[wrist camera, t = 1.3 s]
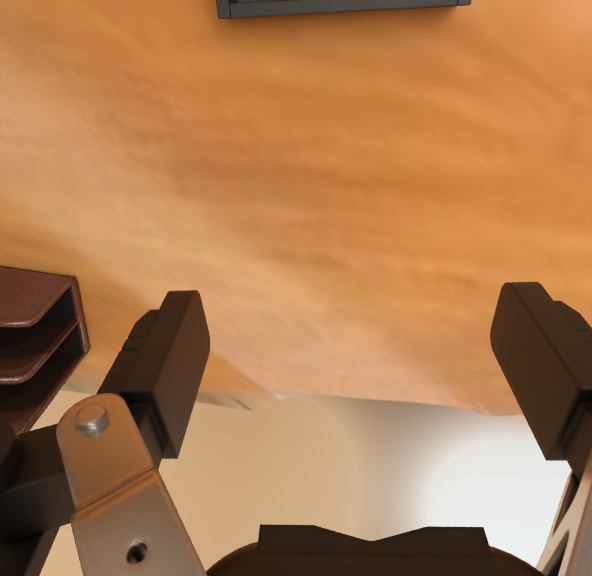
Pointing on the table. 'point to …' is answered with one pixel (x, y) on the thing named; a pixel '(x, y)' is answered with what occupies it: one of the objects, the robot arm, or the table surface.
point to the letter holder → (37, 342)
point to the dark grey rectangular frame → (319, 6)
